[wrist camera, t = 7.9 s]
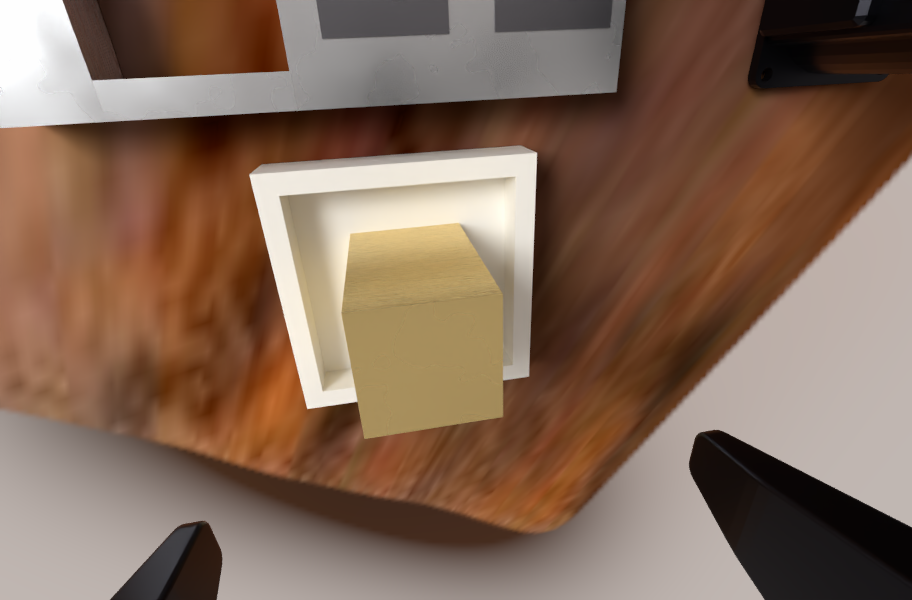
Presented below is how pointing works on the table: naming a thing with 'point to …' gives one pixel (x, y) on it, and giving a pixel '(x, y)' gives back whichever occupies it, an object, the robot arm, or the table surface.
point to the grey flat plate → (316, 59)
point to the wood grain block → (422, 330)
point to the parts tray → (385, 208)
